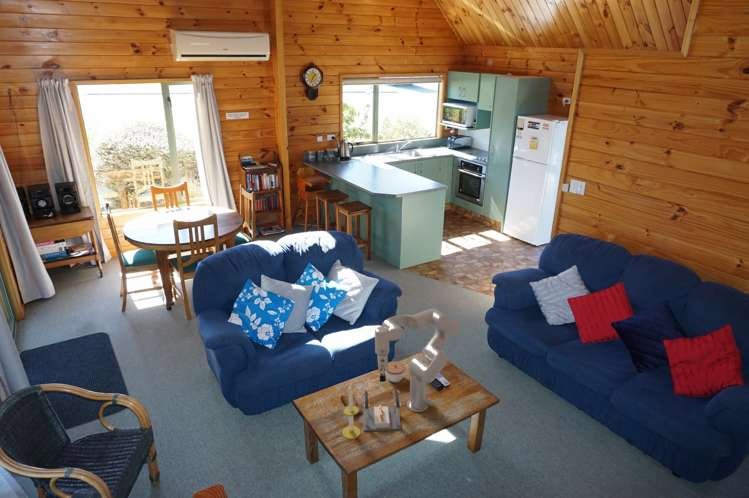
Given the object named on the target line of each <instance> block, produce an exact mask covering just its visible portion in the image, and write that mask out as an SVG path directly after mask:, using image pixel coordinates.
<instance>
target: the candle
mask: <svg viewBox="0 0 749 498" xmlns="http://www.w3.org/2000/svg"><path fill="white" fill-rule="evenodd" d="M353 393H354V392H353V386H352V383H350V384H349V386H348V396H349V405H347V406H345V405H344V407H343V409H342V412H343V413H344V415H346V416H348V426H346V427H345V428H343V430H342V436H343V437H344V438H346V439H349V440H352V439H353V440H354V439H357V438H358V437H360V436H361V429H360V428H359V427H358V426H356V425H354V422H355V421H354V417H353V415H355V414H357V413H358V411H359V408H358V407H357V406H355V405H353V395H354V394H353Z"/></svg>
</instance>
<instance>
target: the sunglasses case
mask: <svg viewBox="0 0 749 498" xmlns="http://www.w3.org/2000/svg"><path fill="white" fill-rule="evenodd" d="M340 400H341V402H342V403H343V405H344V407H345V406H347V405H349V395H341V396H340ZM353 405H355V406H357V407H358V408H359V411H358V413H357V414H355V415H353V418H356V417H359V416H363V410H364V409H363V408H362V406H361V405H360V404H359V403H358V401H357V400H356V397H355V396H353Z"/></svg>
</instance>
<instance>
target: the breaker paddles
mask: <svg viewBox="0 0 749 498" xmlns="http://www.w3.org/2000/svg"><path fill="white" fill-rule="evenodd" d="M378 407H379V409H380V418H381V420H382V419H383V415H382V407H383V406H382V404H379V405H378Z"/></svg>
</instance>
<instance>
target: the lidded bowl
mask: <svg viewBox="0 0 749 498" xmlns="http://www.w3.org/2000/svg"><path fill="white" fill-rule="evenodd" d="M405 373H406V365H405V364H404V363H402V362H400V361H390V362H389V361H388V371H385V375H386V379H388V380H389V381H390V382H392V383H400V382H401V381H402V379H404V376H405Z"/></svg>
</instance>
